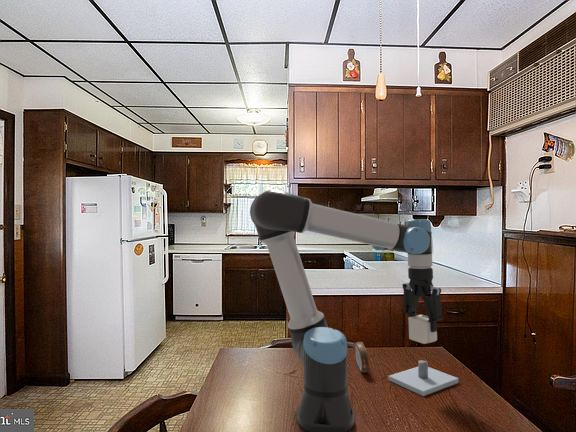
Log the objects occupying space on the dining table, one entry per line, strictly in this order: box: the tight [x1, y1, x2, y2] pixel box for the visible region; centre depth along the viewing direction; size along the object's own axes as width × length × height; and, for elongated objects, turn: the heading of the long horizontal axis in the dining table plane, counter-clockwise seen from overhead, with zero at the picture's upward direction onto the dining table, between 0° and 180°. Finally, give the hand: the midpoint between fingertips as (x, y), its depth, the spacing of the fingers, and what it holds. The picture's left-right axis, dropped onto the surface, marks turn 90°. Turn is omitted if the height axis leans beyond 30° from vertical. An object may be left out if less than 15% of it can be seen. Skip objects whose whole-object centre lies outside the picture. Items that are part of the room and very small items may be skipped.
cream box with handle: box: [407, 314, 438, 345], centre depth 121 cm, size 6×6×7 cm
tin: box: [354, 341, 370, 373], centre depth 138 cm, size 15×3×8 cm, turn 178°
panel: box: [387, 359, 459, 397], centre depth 126 cm, size 18×14×6 cm
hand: (422, 338), depth 121 cm, fingers closed on cream box with handle, 6 cm apart
